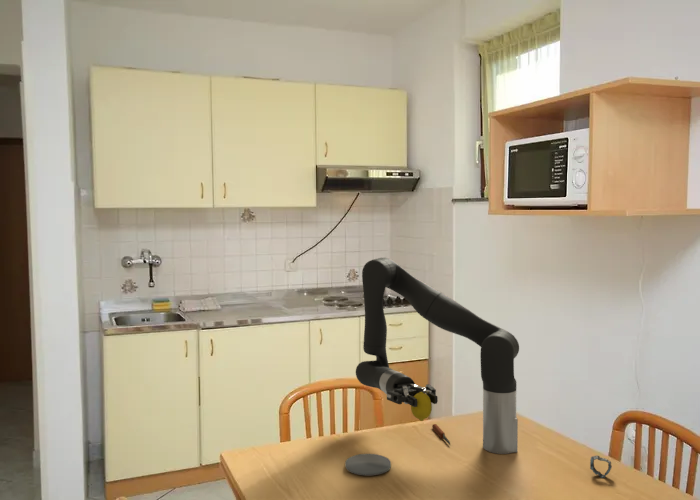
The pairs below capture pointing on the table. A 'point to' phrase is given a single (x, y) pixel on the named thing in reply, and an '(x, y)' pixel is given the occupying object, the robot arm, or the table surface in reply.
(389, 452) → the table surface
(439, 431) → the kitchen knife
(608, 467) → the wristwatch
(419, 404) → the lemon
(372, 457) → the dish
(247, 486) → the table surface
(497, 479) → the table surface
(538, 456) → the table surface
